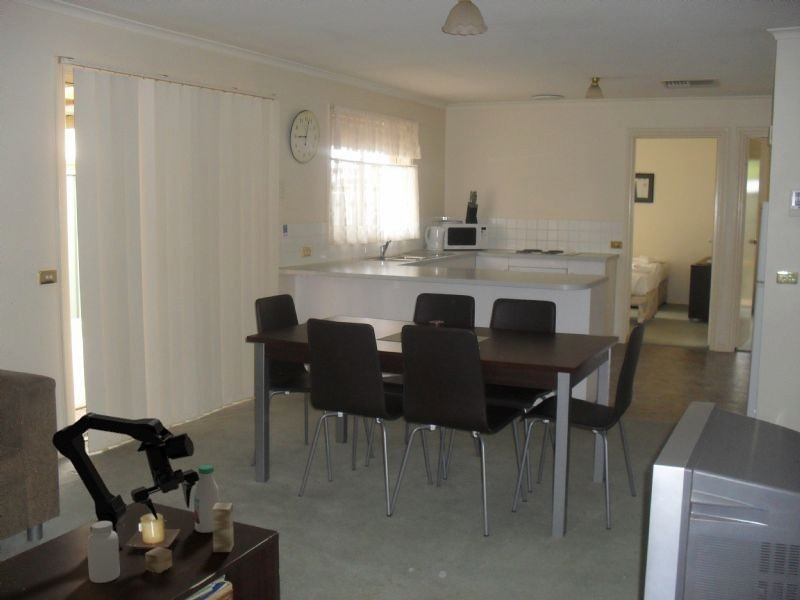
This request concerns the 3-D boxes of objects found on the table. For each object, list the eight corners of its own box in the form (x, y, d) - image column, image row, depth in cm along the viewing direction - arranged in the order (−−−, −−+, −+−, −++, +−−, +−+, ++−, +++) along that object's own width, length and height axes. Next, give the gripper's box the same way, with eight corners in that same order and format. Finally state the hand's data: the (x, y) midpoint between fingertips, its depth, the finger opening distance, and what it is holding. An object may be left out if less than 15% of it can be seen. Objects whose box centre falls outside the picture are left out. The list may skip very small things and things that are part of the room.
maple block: (213, 552, 234) (212, 509, 233) (216, 544, 239) (215, 503, 238) (230, 551, 235) (229, 509, 233) (233, 544, 239) (232, 502, 238)
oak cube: (145, 570, 223) (145, 553, 222) (159, 563, 227) (158, 546, 227) (159, 574, 220) (158, 556, 220) (172, 567, 225) (171, 550, 224)
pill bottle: (95, 570, 223) (93, 518, 221) (124, 570, 222) (122, 518, 221) (83, 583, 215) (81, 530, 213) (113, 584, 214) (111, 530, 213)
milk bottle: (223, 524, 255) (221, 463, 252) (215, 534, 247) (213, 471, 245) (199, 523, 256) (198, 462, 253) (191, 532, 248) (189, 470, 246)
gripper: (132, 478, 220) (146, 532, 221) (197, 455, 229) (211, 507, 230) (124, 472, 229) (138, 523, 231) (187, 450, 238) (200, 499, 240)
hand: (172, 513), depth 233 cm, fingers open, 9 cm apart
